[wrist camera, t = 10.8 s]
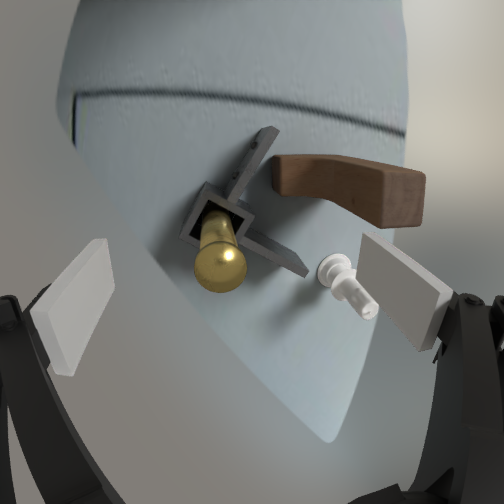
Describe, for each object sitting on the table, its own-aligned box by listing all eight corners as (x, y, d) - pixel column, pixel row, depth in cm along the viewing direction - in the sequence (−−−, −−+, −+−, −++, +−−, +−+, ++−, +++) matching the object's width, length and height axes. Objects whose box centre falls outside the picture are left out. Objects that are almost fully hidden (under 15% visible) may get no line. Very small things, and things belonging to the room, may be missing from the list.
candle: (313, 286, 43) (345, 334, 32) (321, 251, 41) (359, 292, 30) (345, 287, 44) (383, 332, 33) (354, 254, 42) (398, 293, 31)
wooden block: (272, 190, 37) (323, 234, 20) (271, 154, 35) (324, 169, 19) (338, 188, 38) (423, 227, 21) (338, 154, 36) (428, 172, 20)
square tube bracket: (244, 117, 33) (250, 113, 28) (341, 180, 38) (362, 188, 32) (183, 222, 37) (178, 238, 31) (281, 273, 41) (292, 294, 36)
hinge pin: (200, 199, 36) (192, 245, 21) (230, 198, 37) (247, 243, 21) (200, 228, 37) (195, 293, 22) (230, 227, 38) (246, 291, 22)
